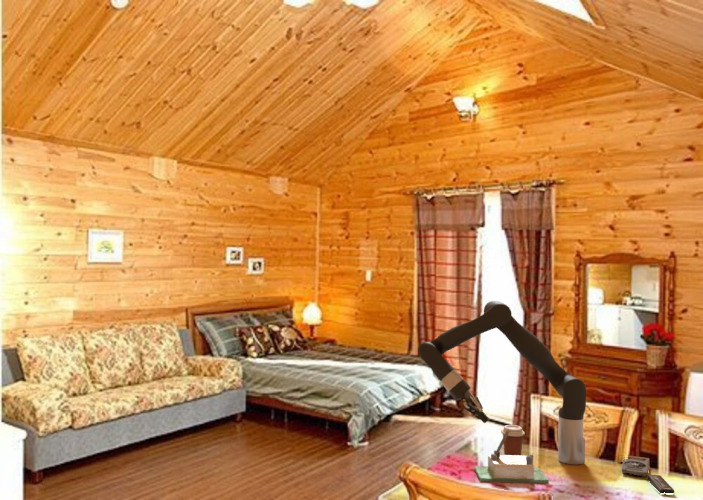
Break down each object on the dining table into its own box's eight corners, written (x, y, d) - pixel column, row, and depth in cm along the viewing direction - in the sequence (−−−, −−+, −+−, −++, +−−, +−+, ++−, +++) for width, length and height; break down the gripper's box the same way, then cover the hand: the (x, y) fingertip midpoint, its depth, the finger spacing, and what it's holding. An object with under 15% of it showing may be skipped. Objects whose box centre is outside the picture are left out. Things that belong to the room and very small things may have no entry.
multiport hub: (660, 481, 217) (660, 475, 217) (674, 497, 202) (674, 490, 202) (647, 480, 217) (647, 474, 217) (660, 496, 203) (660, 489, 203)
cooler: (538, 470, 225) (538, 448, 225) (548, 483, 212) (548, 459, 212) (474, 469, 225) (474, 446, 225) (480, 481, 213) (480, 457, 213)
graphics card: (616, 453, 237) (650, 457, 232) (616, 462, 237) (650, 467, 232) (613, 466, 222) (649, 471, 217) (613, 476, 222) (649, 481, 217)
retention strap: (495, 458, 220) (492, 457, 220) (497, 456, 222) (494, 454, 223) (508, 432, 218) (506, 430, 218) (510, 430, 220) (508, 428, 221)
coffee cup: (524, 462, 234) (524, 431, 234) (500, 459, 237) (500, 429, 237) (524, 454, 243) (524, 425, 243) (501, 452, 246) (501, 423, 246)
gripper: (457, 381, 222) (489, 419, 216) (467, 375, 234) (498, 411, 228) (443, 394, 224) (474, 431, 218) (454, 387, 236) (484, 423, 230)
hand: (486, 421), depth 223 cm, fingers closed
